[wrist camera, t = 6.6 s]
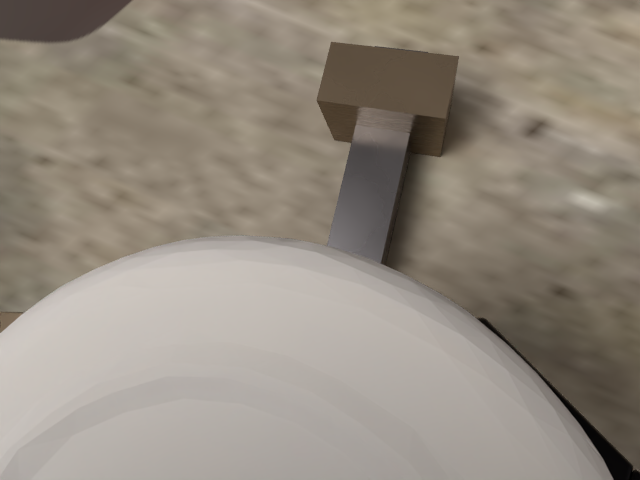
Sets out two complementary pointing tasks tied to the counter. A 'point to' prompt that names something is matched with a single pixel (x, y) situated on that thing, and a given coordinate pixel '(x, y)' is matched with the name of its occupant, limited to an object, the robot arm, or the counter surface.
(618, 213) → the counter surface
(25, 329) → the sprinkles bottle
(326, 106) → the coupling jig
